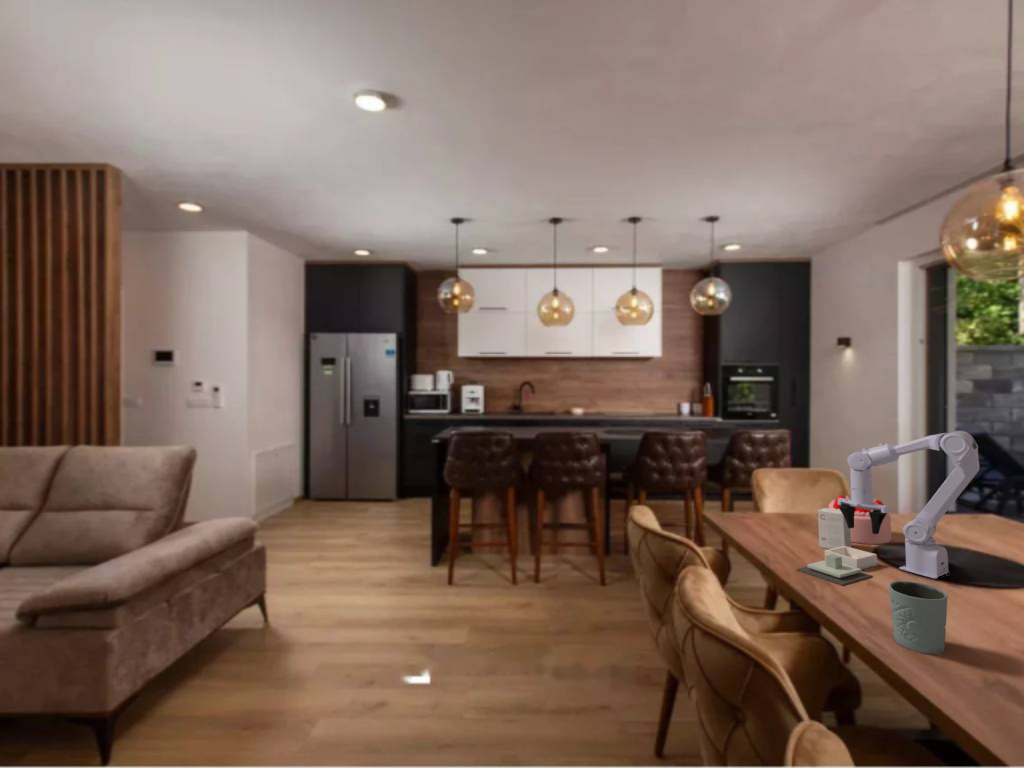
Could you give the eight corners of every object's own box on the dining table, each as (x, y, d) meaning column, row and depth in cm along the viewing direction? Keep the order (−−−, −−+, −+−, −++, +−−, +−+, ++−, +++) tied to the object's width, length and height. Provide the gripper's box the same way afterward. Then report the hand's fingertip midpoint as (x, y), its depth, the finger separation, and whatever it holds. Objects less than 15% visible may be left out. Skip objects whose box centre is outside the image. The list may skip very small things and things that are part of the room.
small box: (851, 548, 173) (850, 511, 174) (845, 552, 169) (843, 514, 170) (825, 543, 180) (824, 507, 180) (818, 547, 176) (817, 510, 176)
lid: (861, 574, 148) (861, 558, 149) (840, 580, 144) (839, 563, 144) (828, 564, 158) (828, 549, 158) (807, 569, 154) (806, 554, 154)
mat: (872, 576, 147) (872, 575, 147) (842, 585, 142) (842, 584, 142) (826, 562, 160) (825, 561, 160) (796, 570, 154) (796, 568, 154)
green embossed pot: (922, 632, 114) (920, 579, 114) (963, 655, 104) (961, 597, 104) (879, 634, 114) (876, 581, 114) (916, 658, 104) (914, 599, 104)
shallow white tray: (877, 565, 156) (876, 554, 157) (857, 571, 152) (856, 559, 152) (844, 556, 166) (844, 545, 166) (824, 561, 161) (824, 550, 162)
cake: (850, 527, 199) (849, 491, 199) (905, 540, 180) (903, 501, 181) (815, 533, 192) (814, 496, 192) (868, 548, 173) (867, 507, 174)
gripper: (831, 486, 167) (832, 527, 167) (877, 493, 154) (879, 538, 154) (844, 484, 170) (846, 524, 170) (891, 491, 157) (893, 534, 157)
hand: (863, 530), depth 162 cm, fingers open, 7 cm apart
